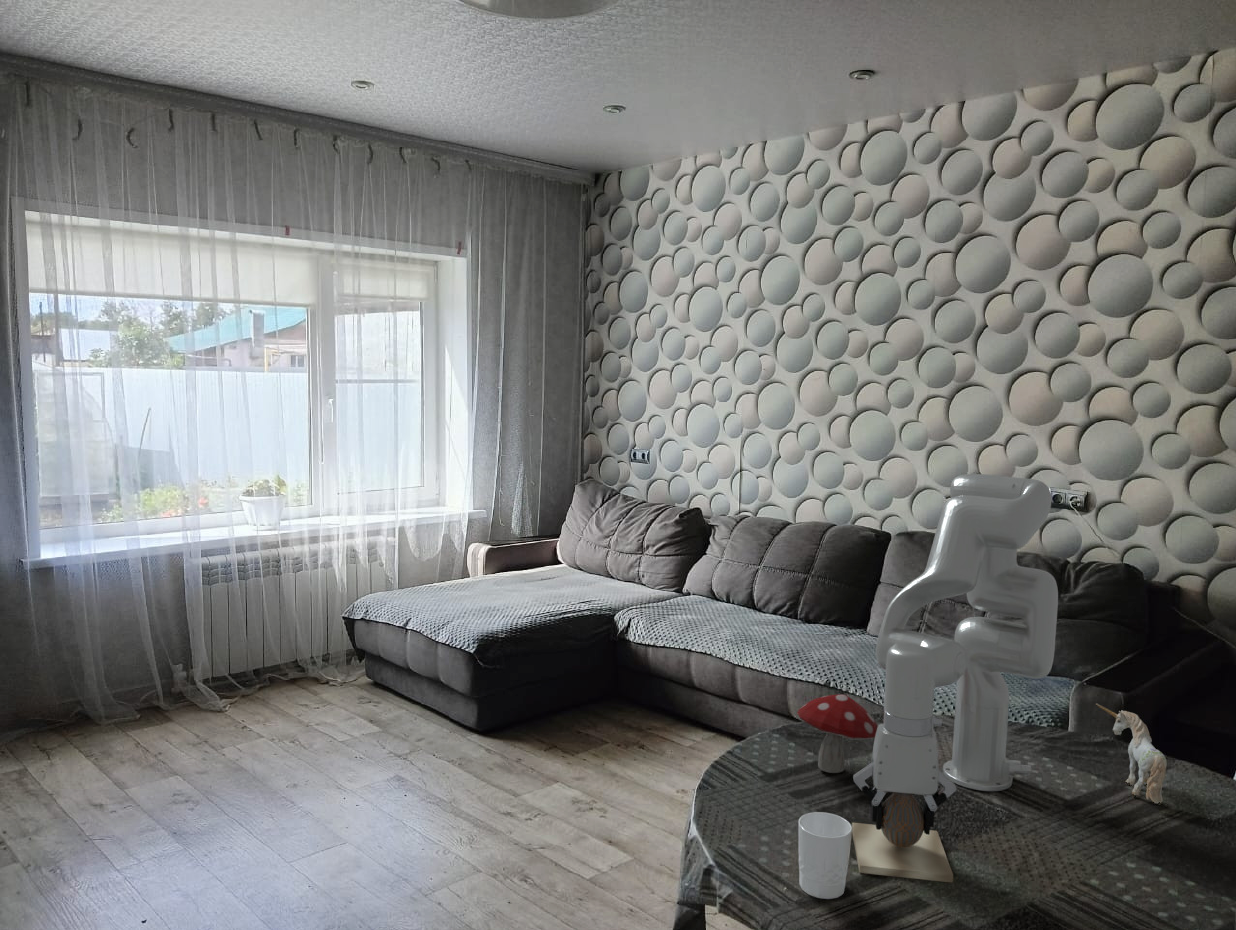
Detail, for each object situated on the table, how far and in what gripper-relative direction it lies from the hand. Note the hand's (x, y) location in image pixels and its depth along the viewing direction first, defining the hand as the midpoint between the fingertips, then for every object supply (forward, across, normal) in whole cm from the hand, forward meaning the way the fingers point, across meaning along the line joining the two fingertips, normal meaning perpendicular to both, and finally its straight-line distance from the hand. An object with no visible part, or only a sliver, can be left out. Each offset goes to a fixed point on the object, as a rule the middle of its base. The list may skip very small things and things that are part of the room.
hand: (901, 827), depth 151 cm
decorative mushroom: (+5, +8, -31) cm, 32 cm away
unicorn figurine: (+5, -46, -34) cm, 57 cm away
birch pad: (+5, 0, 0) cm, 5 cm away
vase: (+3, 0, 0) cm, 3 cm away
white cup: (+5, +13, +12) cm, 19 cm away
